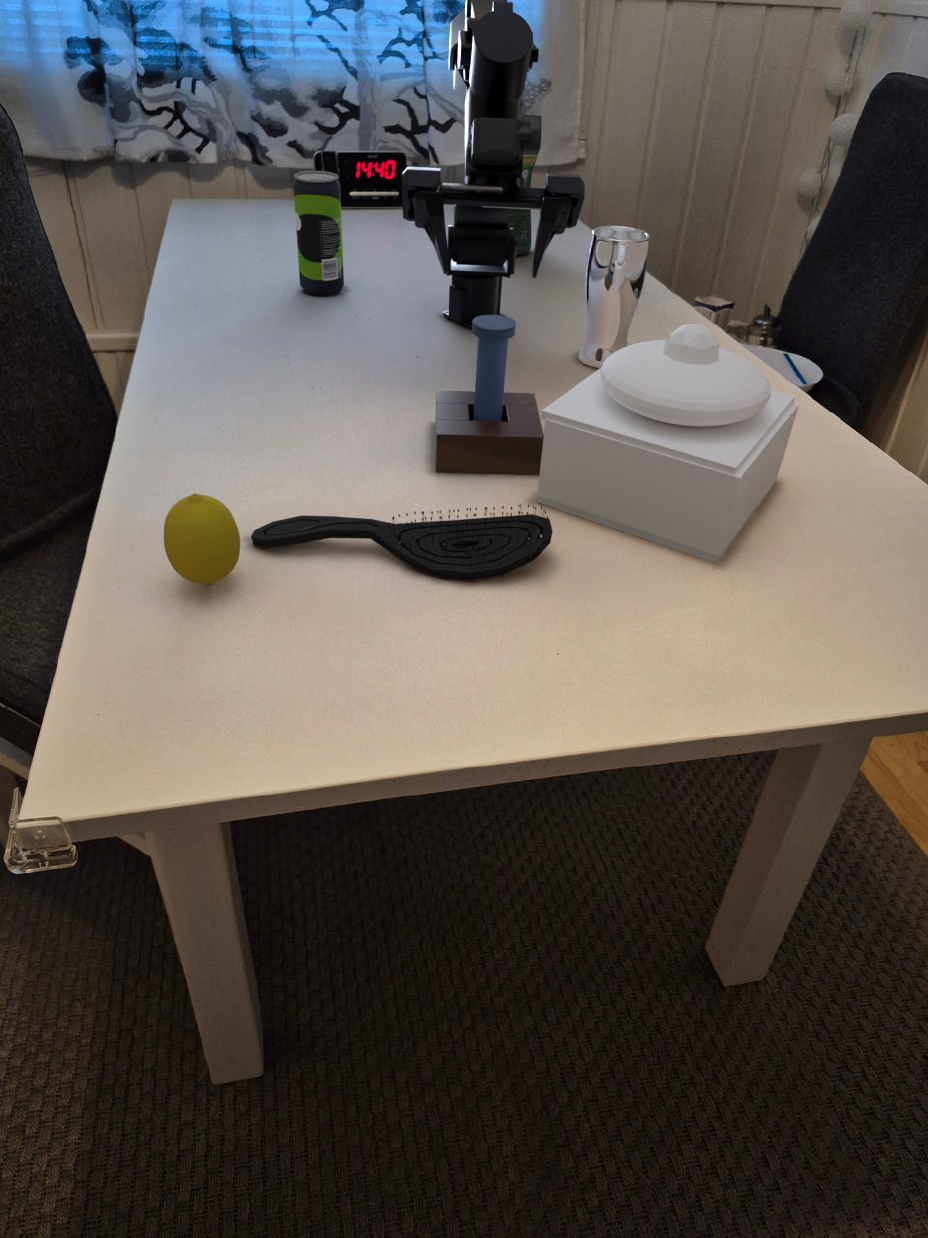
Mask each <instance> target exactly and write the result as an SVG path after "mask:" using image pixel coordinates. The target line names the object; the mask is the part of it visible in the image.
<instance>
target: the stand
mask: <svg viewBox="0 0 928 1238" xmlns="http://www.w3.org/2000/svg"><path fill="white" fill-rule="evenodd" d="M474 402H475V390H474V391H471V390H441V389H437V390H435V416H434V417H435V421H434V439H435V440H434V443H435V444H434V446H435V447H434V448H435V449H434V451H435V452H434V454H435V455H434V456H435V462H434V463H435V464H434V465H435V472H436V473H464V474H499V475H500V474H501V475H535V476H536V475H537V476H538V475H540V466H541V457H542V448H543V438H544V430H543V429H544V428H543V426H542V422H541V415H540V413H539V408H538V404H537V403H538V402H537V399H536V394H535V393H534V392H507V391H506V392H505V391H504V397H503V410H502V422H496V421H473V420H474Z"/></svg>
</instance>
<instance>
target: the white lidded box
mask: <svg viewBox="0 0 928 1238" xmlns="http://www.w3.org/2000/svg"><path fill="white" fill-rule="evenodd" d="M720 345H721V343H720V341H719V340H718V338H717V336H716V335H715V334H714V332H713V330H711V328H708V327H707V326H705V325H703V324H702V323H683V324H681V325H680V326H679V327H678V328H676V329H675V330H673V331H672V332H671V333H669V334H668V336H667V338H666V339H659V340H658V339H656V340H655V339H654V340H647V341H641V342H636V343H633V344H630V345H627V347H624V348H621V349H620V350H618V351H616V352H614V353H613V354H612V355H610V356H609V357H608V358H607V359H606V360H605V361H604V363H603V365H602V367H601V368H598V369H597V370H596V371H594V372H592V374H590V375H589V376H587V377H586V378H584V380H582V381H581V382H579V383H578V384H576V385H575V386H574V387H572V388H571V389H570V390H568V391H567V392H565V393H564V394H563V395H561V396H560V397H558V398H557V399H555V400H554V401H552V402H551V403H550V404H549V405H547V406H546V407H544V408H543V409H542V410H541V414H540V420H545V422H544V428H543V429H544V430H543V434H544V438H543V448H542V457H541V466H540V475H539V476H538V485H537V493H536V494H537V495H536V503H539V504H541V505H544V506H546V507H547V506H548V507H550V508H553V509H556V510H559V511H561V512H564V513H567V514H571V515H574V516H577V517H579V518H582V519H586V520H588V521H591V522H594V523H597V524H600V525H603V526H606V527H609V528H611V529H613V530H618V531H619V532H623V533H626V534H628V535H632V536H635V537H637V538H640V539H643V540H646V541H649V542H652V543H655V544H658V545H661V546H664V547H667V548H670V549H673V550H676V551H678V552H681V553H683V554H687V555H689V556H693V557H697V558H699V559H702V560H705V561H708V562H710V563H713V564H718V563H719V562H720V560H721V559H722V558H723V556H724V555H725V553H726V552H727V551H728V550H729V548H730V547H731V545H733V543H734V541H735V540H736V538H737V537H738V536H739V534H740V533H741V532H742V531H743V529H744V527H745V526H746V525H747V523H748V522H749V520H750V519H751V518H752V516H753V515H754V514H755V512H756V511H757V509H759V507H760V505H761V504H762V503H763V502H764V500H765V498H766V497H767V496H768V495H769V493H770V491H771V490H772V489H773V487H774V486H775V484H776V483H777V480H778V477H779V473H780V470H781V467H782V463H783V460H784V456H785V453H786V450H787V446H788V444H789V441H790V440H789V439H790V436H791V433H792V430H793V426H794V423H795V419H796V416H797V413H798V410H799V406H800V404H798V403H795V399H796V395H794V394H790V393H786V392H782V391H778V390H774V389H771V386H772V385H771V383H770V381H769V379H768V377H767V376H766V374H765V373H764V372H763V370H762V369H761V368H759V367H758V366H757V365H756V364H754V363H753V362H752V361H750V360H749V359H747V358H745V357H744V356H742V355H740V354H738V353H736V352H734V351H731V350H728V349H725V348H722V347H721V346H720Z"/></svg>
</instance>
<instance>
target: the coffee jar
mask: <svg viewBox="0 0 928 1238" xmlns="http://www.w3.org/2000/svg"><path fill="white" fill-rule="evenodd" d="M538 156H539V154H538V155H523V173H522V178H519V187H525V188H532V177H533V171H534V167H535V165H536V162H537V160H538ZM509 228H514V233H515V237H516V238H517V239H518V249H517V254H516V256H517V255H524V254H527V253H528V252H529V251H530V250H531V248H532V209H511V208H509Z"/></svg>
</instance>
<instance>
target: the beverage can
mask: <svg viewBox="0 0 928 1238" xmlns="http://www.w3.org/2000/svg"><path fill="white" fill-rule="evenodd" d="M294 179H295V180H294V182H293V184H292V187H293V188H292V189H293V203H294V217H295V232H296V233H295V234H296V247H297V260H298V274H299V275H298V277H299V286H300V287H301V288H302V289H303V291H304V292H305V293H306V294H308V295H312V296H316V297H317V296H318V297H327V296H333V295H337V294H339V293H340V292H341V290H342V289H343V288H344V286H345V276H344V275H345V274H344V271H345V270H344V249H343V248H344V247H343V223H342V220H343V219H342V199H341V195H342V194H341V184H340V182H339V181H338V179H339V176H338V174H337V173H334V172H331V171H325V170H305V171H300V172H297V173H295V174H294Z"/></svg>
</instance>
